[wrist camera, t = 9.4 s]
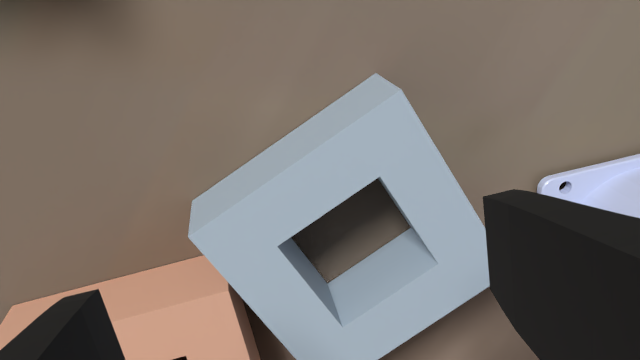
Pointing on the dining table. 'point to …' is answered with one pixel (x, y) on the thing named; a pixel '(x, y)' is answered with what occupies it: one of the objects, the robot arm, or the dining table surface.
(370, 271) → the pale blue square ring
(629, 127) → the dining table surface
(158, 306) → the pink square ring
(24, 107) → the dining table surface
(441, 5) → the dining table surface
